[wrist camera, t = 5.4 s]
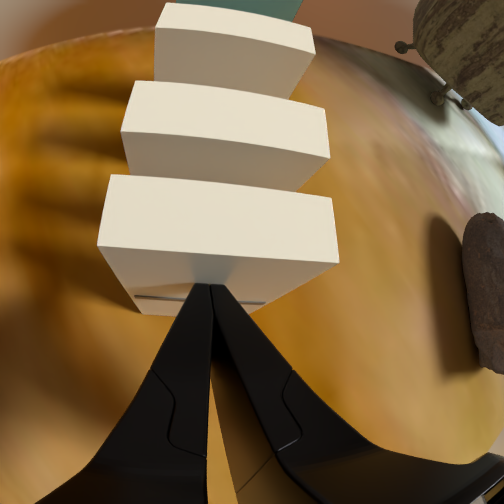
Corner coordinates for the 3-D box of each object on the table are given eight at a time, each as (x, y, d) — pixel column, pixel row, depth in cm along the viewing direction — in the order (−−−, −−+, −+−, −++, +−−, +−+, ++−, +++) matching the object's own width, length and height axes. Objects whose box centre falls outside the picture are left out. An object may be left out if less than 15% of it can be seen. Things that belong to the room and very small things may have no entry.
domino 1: (239, 319, 16) (339, 264, 6) (142, 315, 14) (96, 248, 5) (239, 288, 16) (331, 196, 7) (144, 282, 15) (111, 172, 6)
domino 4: (245, 123, 18) (304, -2, 9) (166, 113, 17) (179, -24, 8) (245, 103, 19) (300, -18, 9) (171, 94, 17) (187, -38, 8)
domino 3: (243, 178, 17) (316, 54, 8) (156, 169, 16) (155, 28, 7) (244, 153, 18) (310, 26, 8) (161, 144, 17) (166, 2, 7)
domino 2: (240, 245, 17) (330, 160, 7) (148, 238, 15) (120, 133, 6) (241, 215, 17) (324, 107, 7) (151, 207, 16) (136, 79, 6)
